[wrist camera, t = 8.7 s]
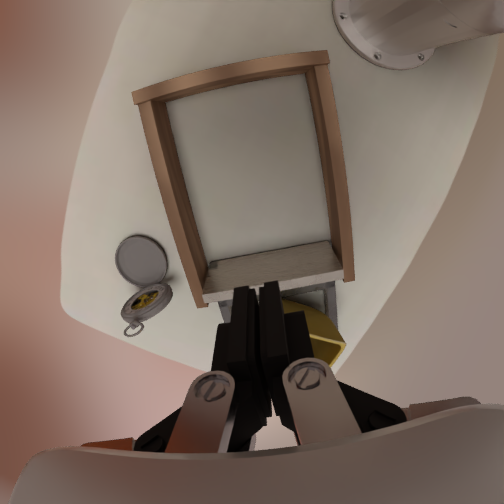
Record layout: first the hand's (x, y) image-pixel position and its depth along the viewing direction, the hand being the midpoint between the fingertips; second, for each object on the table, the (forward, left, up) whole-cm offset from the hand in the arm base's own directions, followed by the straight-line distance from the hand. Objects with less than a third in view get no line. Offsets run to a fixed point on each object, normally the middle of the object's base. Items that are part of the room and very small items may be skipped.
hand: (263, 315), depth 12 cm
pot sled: (0, +15, -22) cm, 27 cm away
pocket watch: (+15, +7, -23) cm, 28 cm away
